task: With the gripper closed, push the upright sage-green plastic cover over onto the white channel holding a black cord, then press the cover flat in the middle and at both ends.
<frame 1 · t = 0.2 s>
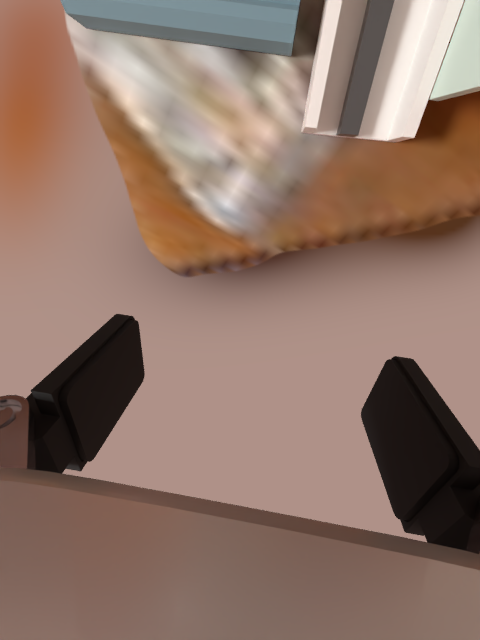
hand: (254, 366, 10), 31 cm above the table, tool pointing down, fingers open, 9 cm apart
white channel: (378, 14, 26), on the table
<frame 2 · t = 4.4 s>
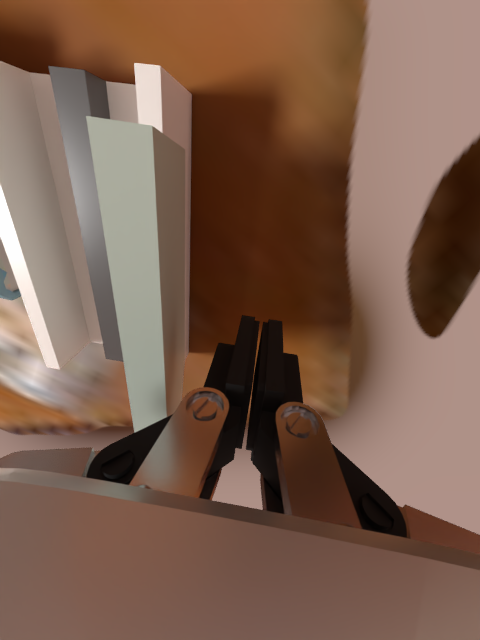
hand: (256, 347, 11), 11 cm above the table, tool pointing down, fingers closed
cover: (168, 320, 12), point 10 cm above the table, hinge at 104.4°, touching gripper
white channel: (124, 245, 21), on the table
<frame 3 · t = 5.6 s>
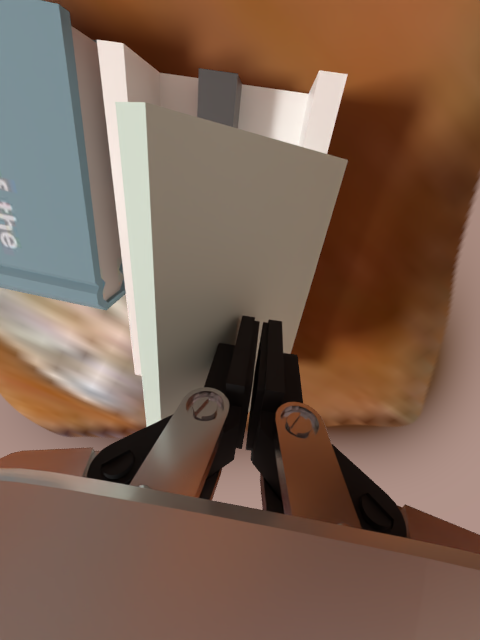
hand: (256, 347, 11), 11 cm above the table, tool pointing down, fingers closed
cover: (248, 321, 12), point 10 cm above the table, hinge at 57.2°, touching gripper
white channel: (220, 251, 21), on the table
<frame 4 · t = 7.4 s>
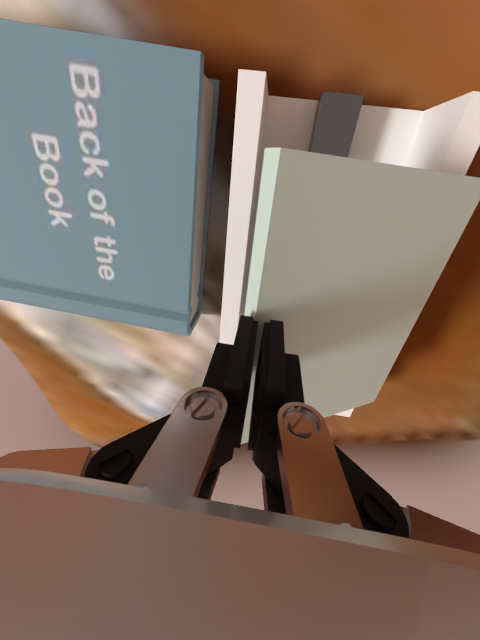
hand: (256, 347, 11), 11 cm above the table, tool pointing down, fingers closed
book: (69, 195, 20), on the table
cover: (340, 324, 13), point 8 cm above the table, hinge at 29.2°, touching gripper
white channel: (303, 268, 20), on the table
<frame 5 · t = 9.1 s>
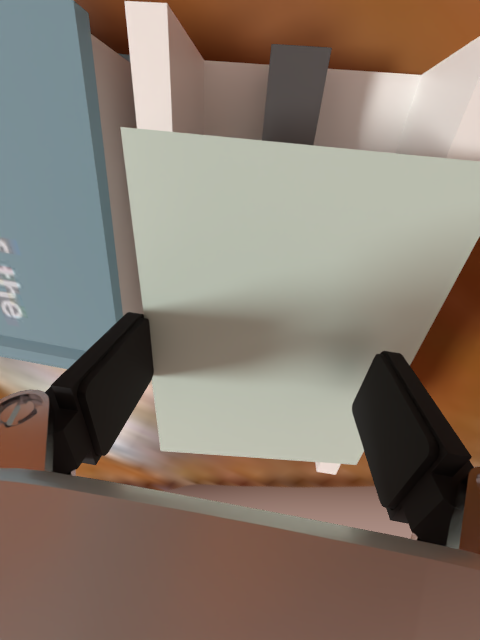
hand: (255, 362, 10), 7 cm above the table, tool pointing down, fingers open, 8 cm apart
cover: (278, 347, 11), point 6 cm above the table, hinge at 5.7°, touching gripper
white channel: (273, 289, 16), on the table
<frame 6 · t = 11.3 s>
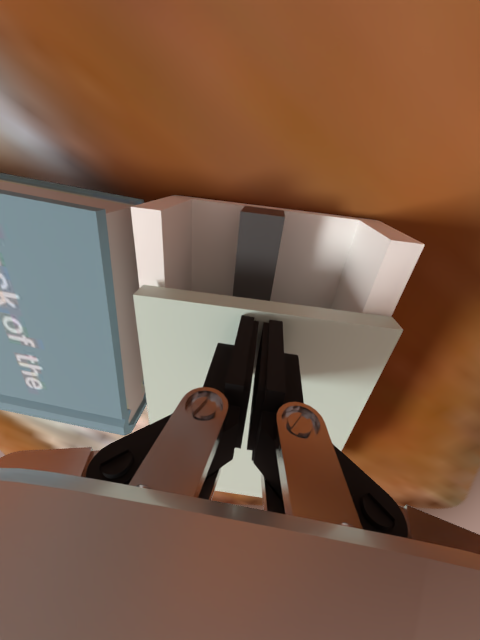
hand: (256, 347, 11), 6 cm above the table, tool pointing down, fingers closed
book: (6, 286, 20), on the table
cover: (246, 418, 14), point 6 cm above the table, hinge at 1.7°, touching gripper
white channel: (251, 353, 19), on the table
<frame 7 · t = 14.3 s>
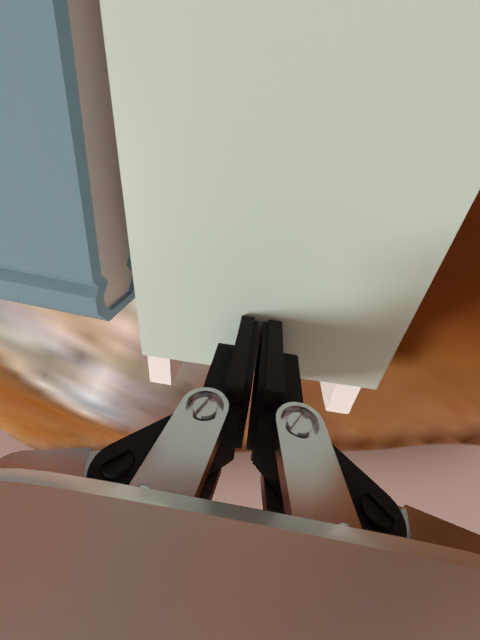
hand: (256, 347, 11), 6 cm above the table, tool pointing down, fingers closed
cover: (286, 201, 8), point 6 cm above the table, hinge at 1.0°, touching gripper
white channel: (278, 189, 13), on the table
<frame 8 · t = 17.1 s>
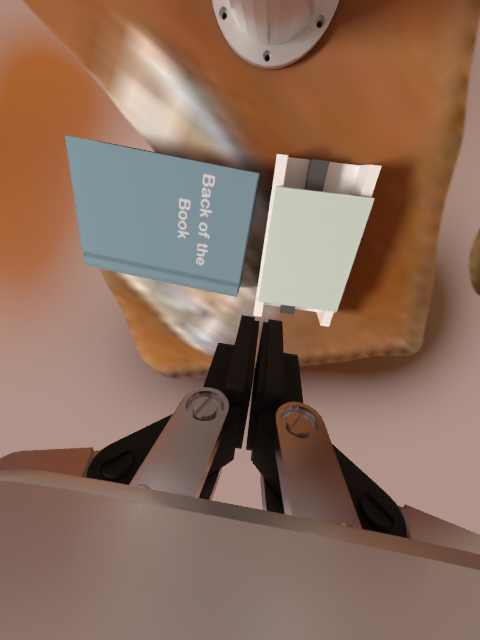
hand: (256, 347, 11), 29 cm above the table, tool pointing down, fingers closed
book: (174, 220, 38), on the table
cover: (309, 254, 32), point 6 cm above the table, hinge at 0.8°
white channel: (303, 243, 37), on the table
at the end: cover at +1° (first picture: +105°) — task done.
